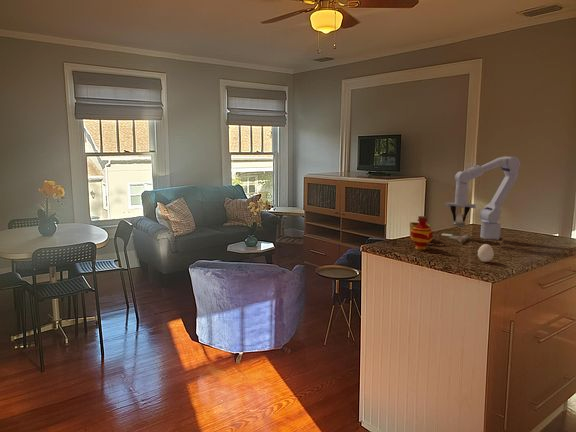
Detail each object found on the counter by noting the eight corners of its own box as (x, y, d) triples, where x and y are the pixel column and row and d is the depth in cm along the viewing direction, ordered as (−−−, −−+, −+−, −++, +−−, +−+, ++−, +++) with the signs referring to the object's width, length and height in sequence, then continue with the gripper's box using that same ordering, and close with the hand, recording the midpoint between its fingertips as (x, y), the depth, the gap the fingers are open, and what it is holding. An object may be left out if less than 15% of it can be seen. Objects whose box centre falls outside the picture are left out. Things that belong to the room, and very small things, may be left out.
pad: (452, 234, 240) (452, 234, 240) (451, 236, 235) (451, 236, 235) (442, 233, 242) (442, 233, 242) (441, 235, 238) (441, 235, 237)
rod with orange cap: (463, 236, 229) (464, 233, 229) (468, 236, 228) (468, 233, 228) (456, 240, 218) (457, 237, 218) (461, 241, 217) (461, 238, 217)
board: (470, 238, 236) (471, 234, 236) (465, 245, 219) (466, 241, 219) (443, 235, 243) (443, 231, 243) (436, 242, 225) (436, 237, 225)
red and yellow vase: (432, 246, 215) (434, 215, 212) (431, 251, 205) (433, 219, 203) (409, 244, 218) (411, 214, 216) (408, 249, 209) (410, 217, 206)
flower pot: (425, 239, 230) (427, 222, 229) (429, 243, 222) (430, 225, 220) (408, 239, 231) (409, 222, 230) (411, 242, 223) (412, 225, 221)
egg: (474, 261, 190) (475, 243, 188) (483, 259, 193) (484, 242, 191) (486, 264, 184) (488, 246, 183) (495, 262, 188) (497, 244, 186)
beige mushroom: (465, 224, 233) (466, 214, 232) (464, 226, 228) (465, 215, 227) (453, 223, 236) (454, 213, 235) (452, 225, 230) (453, 214, 229)
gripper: (476, 195, 230) (474, 221, 232) (447, 193, 236) (445, 218, 238) (476, 196, 223) (474, 223, 226) (445, 194, 229) (443, 220, 232)
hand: (459, 221), depth 231 cm, fingers closed on beige mushroom, 4 cm apart
